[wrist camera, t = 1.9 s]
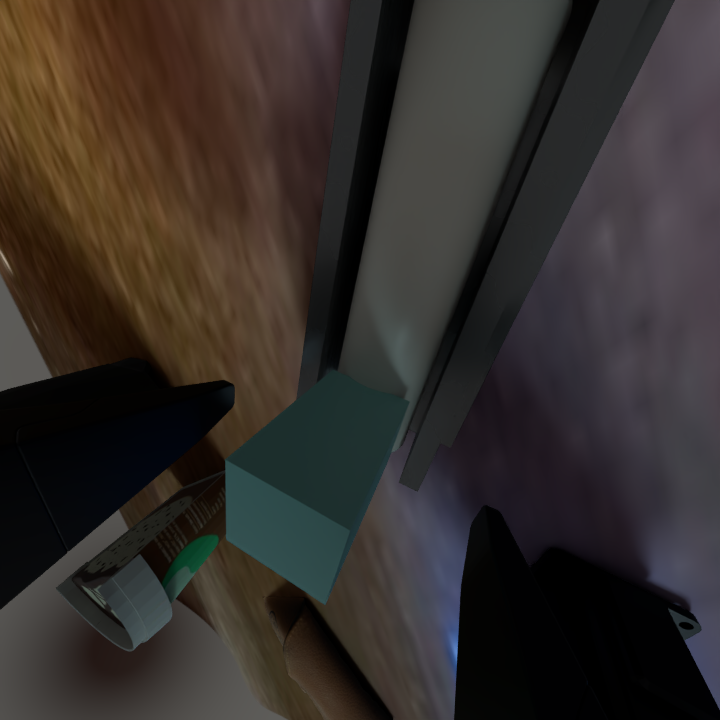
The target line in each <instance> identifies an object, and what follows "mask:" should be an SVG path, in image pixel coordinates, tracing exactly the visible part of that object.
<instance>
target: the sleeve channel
mask: <svg viewBox="0 0 720 720" xmlns="http://www.w3.org/2000/svg"><path fill="white" fill-rule="evenodd" d="M674 1H675V0H573V3H572V11H571V15H570V18H569V20H568V23H567V25H566V28H565V31H564V33H563V36H562V38H561V41H560V43H559V46H558V49H557V51H556V54H555V56H554V59H553V61H552V64H551V66H550V69H549V72H548V74H547V77H546V79H545V82H544V84H543V87H542V90H541V92H540V95H539V97H538V100H537V102H536V105H535V107H534V110H533V113H532V115H531V118H530V120H529V123H528V125H527V128H526V131H525V133H524V136H523V138H522V141H521V143H520V146H519V149H518V151H517V154H516V156H515V159H514V161H513V164H512V166H511V169H510V172H509V174H508V177H507V179H506V182H505V184H504V187H503V190H502V192H501V195H500V197H499V200H498V202H497V205H496V207H495V210H494V213H493V215H492V218H491V220H490V223H489V225H488V228H487V231H486V233H485V236H484V238H483V241H482V243H481V246H480V249H479V251H478V254H477V256H476V259H475V261H474V264H473V266H472V269H471V272H470V274H469V277H468V279H467V282H466V284H465V287H464V290H463V292H462V295H461V297H460V300H459V302H458V305H457V307H456V310H455V313H454V315H453V318H452V320H451V323H450V325H449V328H448V331H447V333H446V336H445V338H444V341H443V343H442V346H441V348H440V351H439V354H438V356H437V359H436V361H435V364H434V366H433V369H432V372H431V374H430V377H429V379H428V382H427V384H426V387H425V390H424V392H423V395H422V397H421V400H420V402H419V405H418V407H417V410H416V413H415V415H414V418H413V420H412V423H411V425H410V428H409V430H411V431H413V432H416V435H415V438H414V441H413V444H412V447H411V449H410V452H409V455H408V458H407V461H406V464H405V467H404V469H403V472H402V475H401V478H400V481H399V483H401V484H403V485H405V486H407V487H409V488H411V489H413V490H415V491H417V492H418V490H419V488H420V485H421V483H422V481H423V479H424V477H425V475H426V473H427V471H428V468H429V466H430V464H431V462H432V460H433V458H434V456H435V454H436V452H437V449H438V447H439V445H440V443H441V444H443V445H445V446H447V447H450V448H451V446H452V444H453V442H454V440H455V438H456V436H457V434H458V432H459V430H460V428H461V426H462V424H463V422H464V420H465V418H466V416H467V414H468V412H469V410H470V408H471V406H472V404H473V402H474V400H475V398H476V396H477V394H478V392H479V390H480V388H481V386H482V384H483V382H484V380H485V378H486V376H487V374H488V372H489V370H490V368H491V366H492V364H493V362H494V360H495V358H496V356H497V354H498V352H499V350H500V348H501V346H502V344H503V342H504V340H505V338H506V336H507V334H508V332H509V330H510V328H511V326H512V324H513V322H514V320H515V318H516V316H517V314H518V312H519V310H520V308H521V306H522V304H523V302H524V300H525V298H526V296H527V294H528V292H529V290H530V288H531V286H532V284H533V282H534V280H535V278H536V276H537V274H538V272H539V270H540V268H541V266H542V264H543V262H544V260H545V258H546V256H547V254H548V252H549V250H550V248H551V246H552V244H553V242H554V240H555V238H556V236H557V234H558V232H559V230H560V228H561V226H562V224H563V222H564V220H565V218H566V216H567V214H568V212H569V210H570V208H571V206H572V204H573V202H574V200H575V198H576V196H577V194H578V192H579V190H580V188H581V186H582V184H583V182H584V180H585V178H586V176H587V174H588V172H589V170H590V168H591V166H592V164H593V162H594V160H595V158H596V156H597V154H598V152H599V150H600V148H601V146H602V144H603V142H604V140H605V138H606V136H607V134H608V132H609V130H610V128H611V126H612V124H613V122H614V120H615V118H616V116H617V114H618V112H619V110H620V108H621V106H622V104H623V102H624V100H625V98H626V96H627V94H628V92H629V90H630V88H631V86H632V84H633V82H634V80H635V78H636V76H637V74H638V72H639V70H640V68H641V66H642V64H643V62H644V60H645V58H646V56H647V54H648V52H649V50H650V48H651V46H652V44H653V42H654V40H655V38H656V36H657V35H658V33H659V31H660V29H661V27H662V25H663V23H664V21H665V19H666V17H667V15H668V13H669V11H670V9H671V7H672V5H673V3H674ZM413 5H414V0H351V3H350V10H349V17H348V25H347V32H346V39H345V47H344V54H343V61H342V69H341V76H340V83H339V91H338V98H337V105H336V113H335V120H334V128H333V135H332V142H331V150H330V157H329V164H328V172H327V179H326V186H325V194H324V201H323V208H322V216H321V223H320V230H319V238H318V245H317V253H316V260H315V267H314V275H313V282H312V289H311V297H310V304H309V311H308V319H307V326H306V333H305V341H304V348H303V355H302V363H301V370H300V378H299V385H298V392H297V399H298V398H300V397H301V396H302V395H303V394H304V393H306V392H307V391H308V390H309V389H310V388H312V387H313V386H314V385H315V384H316V383H318V382H319V381H320V380H321V379H322V378H324V377H325V376H326V375H327V374H328V373H330V372H331V371H332V370H335V371H338V366H339V361H340V356H341V352H342V347H343V342H344V337H345V332H346V327H347V323H348V318H349V313H350V308H351V303H352V299H353V294H354V289H355V284H356V279H357V274H358V270H359V265H360V260H361V255H362V250H363V246H364V241H365V236H366V231H367V226H368V222H369V217H370V212H371V207H372V202H373V197H374V193H375V188H376V183H377V178H378V173H379V169H380V164H381V159H382V154H383V149H384V144H385V140H386V135H387V130H388V125H389V120H390V116H391V111H392V106H393V101H394V96H395V92H396V87H397V82H398V77H399V72H400V67H401V63H402V58H403V53H404V48H405V43H406V39H407V34H408V29H409V24H410V19H411V14H412V10H413Z"/></svg>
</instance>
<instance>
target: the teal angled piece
mask: <svg viewBox="0 0 720 720" xmlns="http://www.w3.org/2000/svg"><path fill="white" fill-rule="evenodd" d="M572 3H573V0H414V5H413V10H412V14H411V19H410V24H409V29H408V34H407V39H406V43H405V48H404V53H403V58H402V63H401V67H400V72H399V77H398V82H397V87H396V92H395V96H394V101H393V106H392V111H391V116H390V120H389V125H388V130H387V135H386V140H385V144H384V149H383V154H382V159H381V164H380V169H379V173H378V178H377V183H376V188H375V193H374V197H373V202H372V207H371V212H370V217H369V222H368V226H367V231H366V236H365V241H364V246H363V250H362V255H361V260H360V265H359V270H358V274H357V279H356V284H355V289H354V294H353V299H352V303H351V308H350V313H349V318H348V323H347V327H346V332H345V337H344V342H343V347H342V352H341V356H340V361H339V366H338V371H335V370H332V371H331V372H330V373H328V374H327V375H326V376H325V377H324V378H322V379H321V380H320V381H319V382H318V383H316V384H315V385H314V386H313V387H312V388H310V389H309V390H308V391H307V392H306V393H304V394H303V395H302V396H301V397H300V398H298V399H297V400H296V401H295V402H294V403H292V404H291V405H290V406H289V407H288V408H286V409H285V410H284V411H283V412H282V413H280V414H279V415H278V416H277V417H276V418H274V419H273V420H272V421H271V422H270V423H269V424H267V425H266V426H265V427H264V428H263V429H261V430H260V431H259V432H258V433H257V434H255V435H254V436H253V437H252V438H251V439H249V440H248V441H247V442H246V443H245V444H243V445H242V446H241V447H240V448H239V449H237V450H236V451H235V452H234V453H233V454H231V455H230V456H229V457H228V458H227V459H225V475H226V540H228V541H229V542H231V543H232V544H234V545H235V546H237V547H238V548H240V549H241V550H243V551H244V552H246V553H247V554H249V555H250V556H252V557H253V558H255V559H256V560H258V561H259V562H261V563H262V564H264V565H265V566H267V567H268V568H270V569H271V570H273V571H275V572H276V573H278V574H279V575H281V576H282V577H284V578H285V579H287V580H288V581H290V582H291V583H293V584H294V585H296V586H297V587H299V588H300V589H302V590H303V591H305V592H306V593H308V594H309V595H311V596H312V597H314V598H315V599H317V600H318V601H320V602H321V603H323V604H324V605H326V602H327V600H328V598H329V595H330V593H331V591H332V588H333V586H334V584H335V582H336V579H337V577H338V575H339V572H340V570H341V568H342V565H343V563H344V561H345V559H346V556H347V554H348V552H349V549H350V547H351V545H352V543H353V540H354V538H355V536H356V533H357V531H358V529H359V526H360V524H361V522H362V520H363V517H364V515H365V513H366V510H367V508H368V506H369V504H370V501H371V499H372V497H373V494H374V492H375V490H376V487H377V485H378V483H379V481H380V478H381V476H382V474H383V471H384V469H385V467H386V465H387V462H388V459H389V457H390V454H391V453H392V452H394V451H396V450H398V449H399V448H400V447H401V446H402V445H403V443H404V441H405V438H406V436H407V433H408V431H409V428H410V425H411V423H412V420H413V418H414V415H415V413H416V410H417V407H418V405H419V402H420V400H421V397H422V395H423V392H424V390H425V387H426V384H427V382H428V379H429V377H430V374H431V372H432V369H433V366H434V364H435V361H436V359H437V356H438V354H439V351H440V348H441V346H442V343H443V341H444V338H445V336H446V333H447V331H448V328H449V325H450V323H451V320H452V318H453V315H454V313H455V310H456V307H457V305H458V302H459V300H460V297H461V295H462V292H463V290H464V287H465V284H466V282H467V279H468V277H469V274H470V272H471V269H472V266H473V264H474V261H475V259H476V256H477V254H478V251H479V249H480V246H481V243H482V241H483V238H484V236H485V233H486V231H487V228H488V225H489V223H490V220H491V218H492V215H493V213H494V210H495V207H496V205H497V202H498V200H499V197H500V195H501V192H502V190H503V187H504V184H505V182H506V179H507V177H508V174H509V172H510V169H511V166H512V164H513V161H514V159H515V156H516V154H517V151H518V149H519V146H520V143H521V141H522V138H523V136H524V133H525V131H526V128H527V125H528V123H529V120H530V118H531V115H532V113H533V110H534V107H535V105H536V102H537V100H538V97H539V95H540V92H541V90H542V87H543V84H544V82H545V79H546V77H547V74H548V72H549V69H550V66H551V64H552V61H553V59H554V56H555V54H556V51H557V49H558V46H559V43H560V41H561V38H562V36H563V33H564V31H565V28H566V25H567V23H568V20H569V18H570V15H571V11H572Z"/></svg>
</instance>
